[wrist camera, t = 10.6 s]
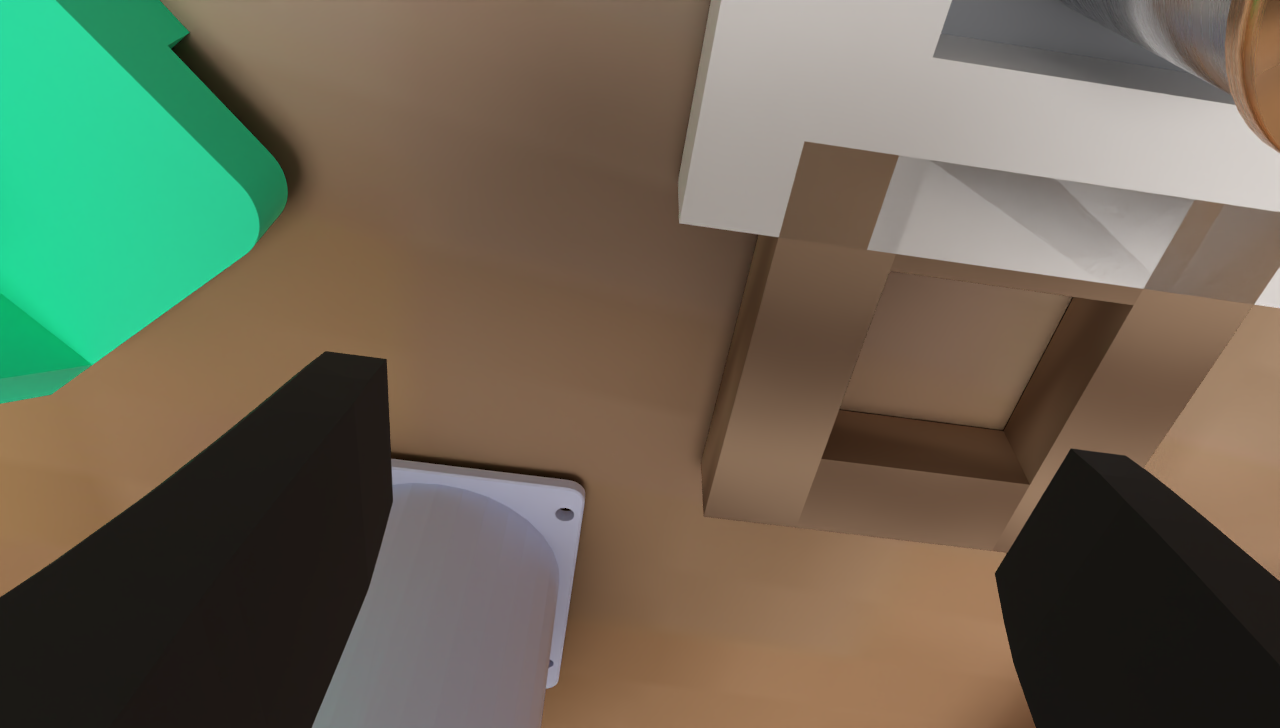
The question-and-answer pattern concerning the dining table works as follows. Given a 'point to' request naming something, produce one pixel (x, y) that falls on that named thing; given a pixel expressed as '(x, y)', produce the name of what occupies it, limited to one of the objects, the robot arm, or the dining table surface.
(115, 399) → the dining table surface
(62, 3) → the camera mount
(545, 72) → the dining table surface
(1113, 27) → the pin
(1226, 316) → the mount block
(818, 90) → the dock plate
